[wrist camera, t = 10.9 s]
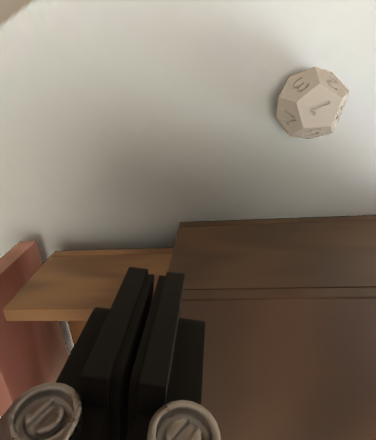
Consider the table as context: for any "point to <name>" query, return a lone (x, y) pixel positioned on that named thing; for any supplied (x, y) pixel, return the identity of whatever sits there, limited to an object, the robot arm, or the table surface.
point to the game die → (311, 103)
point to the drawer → (56, 306)
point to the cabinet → (284, 324)
